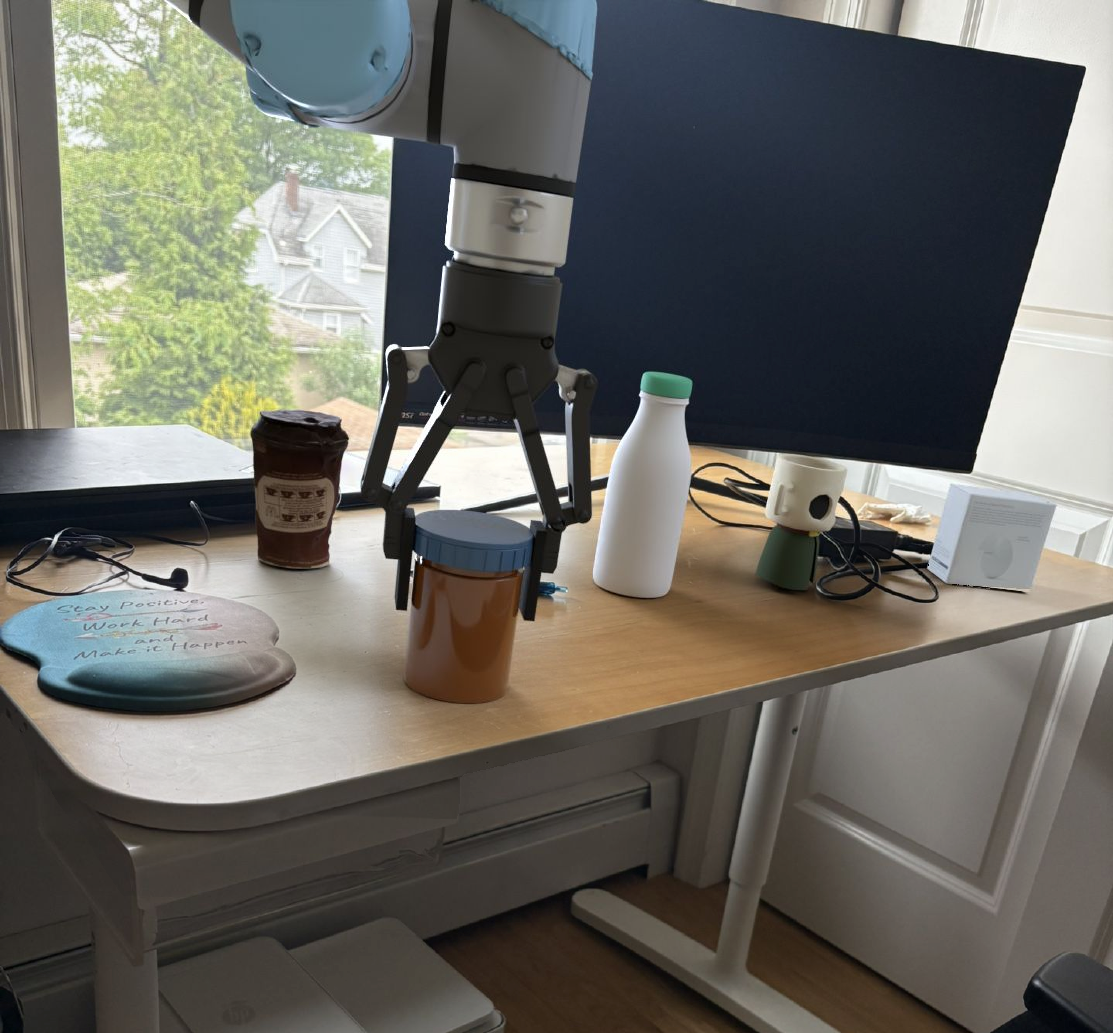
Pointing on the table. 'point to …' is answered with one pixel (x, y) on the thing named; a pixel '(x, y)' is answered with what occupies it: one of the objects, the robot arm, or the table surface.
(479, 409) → the robot arm
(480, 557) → the jar lid
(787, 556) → the character mug
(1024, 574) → the cosmetics box
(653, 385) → the milk bottle
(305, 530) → the coffee cup
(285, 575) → the table surface
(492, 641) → the jar
